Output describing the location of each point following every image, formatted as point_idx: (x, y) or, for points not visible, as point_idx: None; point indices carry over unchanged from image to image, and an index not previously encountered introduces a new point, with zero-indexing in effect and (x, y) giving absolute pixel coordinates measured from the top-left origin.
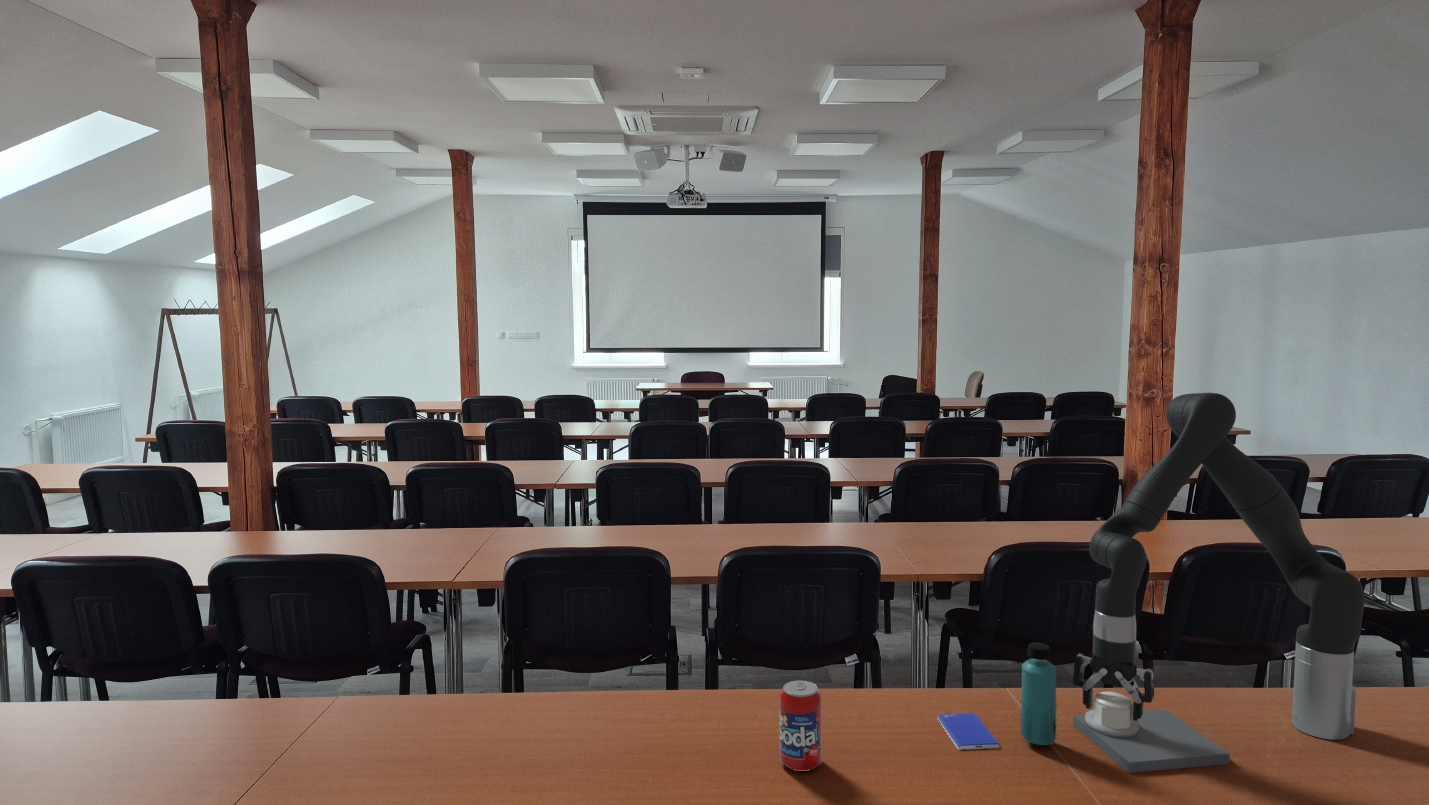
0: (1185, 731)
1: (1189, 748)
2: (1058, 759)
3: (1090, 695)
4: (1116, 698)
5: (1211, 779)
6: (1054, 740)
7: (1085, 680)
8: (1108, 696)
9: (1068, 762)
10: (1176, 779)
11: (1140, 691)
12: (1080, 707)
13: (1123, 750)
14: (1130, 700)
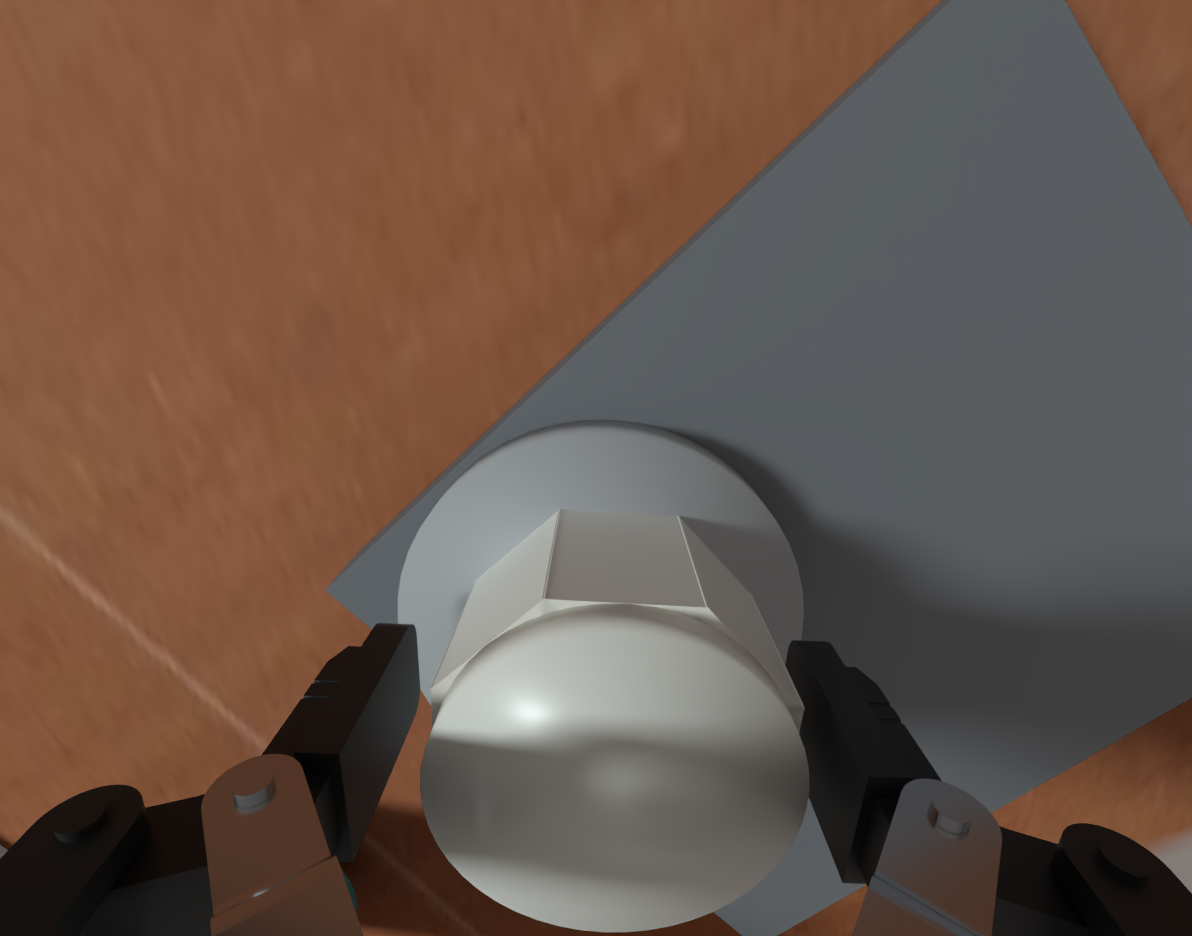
0: (1142, 392)
1: (1116, 649)
2: (427, 921)
3: (370, 790)
4: (641, 772)
5: (1139, 757)
6: (354, 905)
7: (193, 879)
8: (551, 769)
9: (475, 923)
10: None
11: (993, 897)
12: (282, 210)
13: None
14: (794, 750)
